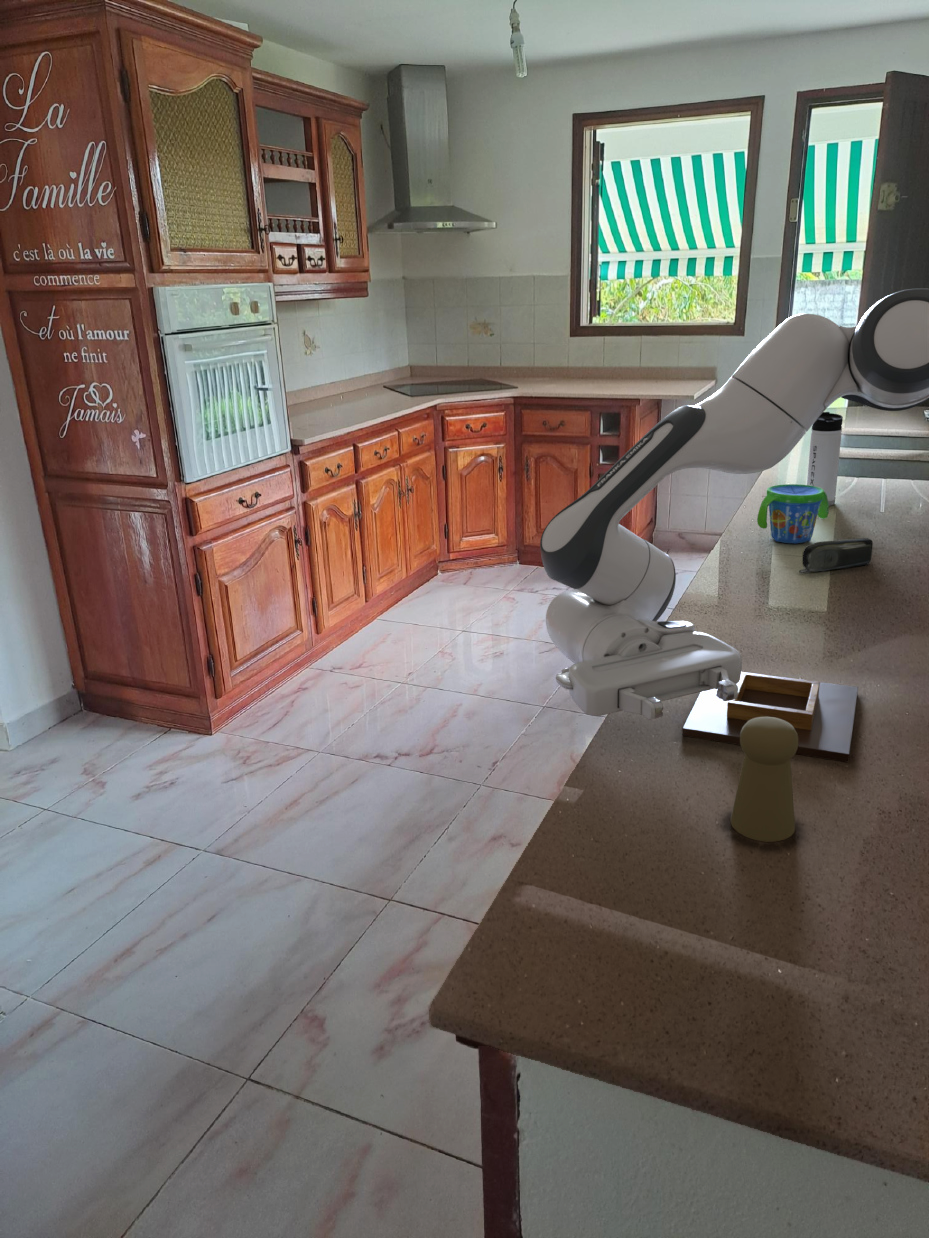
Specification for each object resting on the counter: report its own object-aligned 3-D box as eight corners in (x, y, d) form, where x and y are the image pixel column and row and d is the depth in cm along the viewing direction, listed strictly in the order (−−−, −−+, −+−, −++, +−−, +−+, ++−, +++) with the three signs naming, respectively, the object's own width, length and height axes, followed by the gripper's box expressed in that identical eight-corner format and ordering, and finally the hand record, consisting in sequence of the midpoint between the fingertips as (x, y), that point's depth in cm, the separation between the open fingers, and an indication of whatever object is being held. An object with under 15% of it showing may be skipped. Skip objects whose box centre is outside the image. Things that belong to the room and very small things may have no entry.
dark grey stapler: (865, 534, 158) (794, 543, 154) (877, 538, 156) (806, 548, 152) (862, 561, 160) (792, 571, 156) (874, 565, 157) (803, 575, 153)
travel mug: (831, 499, 202) (839, 411, 195) (837, 506, 196) (846, 415, 189) (802, 499, 204) (809, 412, 197) (808, 506, 198) (815, 416, 191)
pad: (711, 675, 118) (712, 654, 117) (857, 693, 111) (860, 672, 110) (682, 735, 103) (682, 712, 102) (848, 762, 96) (851, 738, 94)
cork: (788, 848, 82) (798, 744, 78) (723, 832, 85) (729, 731, 81) (800, 814, 87) (809, 715, 83) (738, 801, 90) (744, 704, 86)
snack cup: (809, 528, 181) (813, 480, 177) (842, 541, 171) (847, 490, 168) (741, 538, 178) (744, 488, 174) (771, 551, 168) (775, 499, 164)
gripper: (548, 649, 101) (609, 696, 89) (699, 618, 107) (775, 657, 95) (549, 698, 103) (609, 751, 91) (697, 665, 110) (771, 710, 98)
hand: (695, 703), depth 93 cm, fingers open, 8 cm apart
